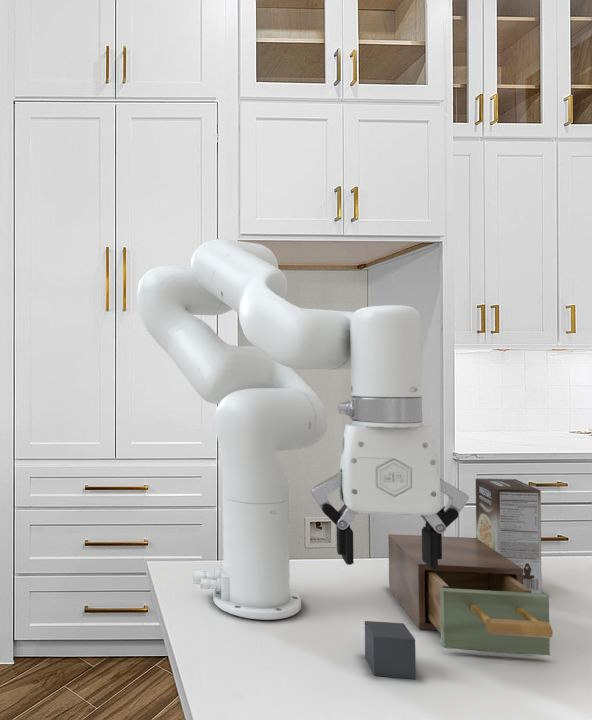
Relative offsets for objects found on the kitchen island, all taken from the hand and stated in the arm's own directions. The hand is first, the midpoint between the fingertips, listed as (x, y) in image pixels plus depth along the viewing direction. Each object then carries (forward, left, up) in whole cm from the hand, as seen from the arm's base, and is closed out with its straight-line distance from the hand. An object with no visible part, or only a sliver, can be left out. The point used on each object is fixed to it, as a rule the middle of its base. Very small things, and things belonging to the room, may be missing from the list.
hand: (388, 562), depth 69 cm
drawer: (+13, +8, -11) cm, 19 cm away
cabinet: (+13, +19, -12) cm, 26 cm away
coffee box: (+26, +32, -12) cm, 43 cm away
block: (0, 0, -12) cm, 12 cm away
